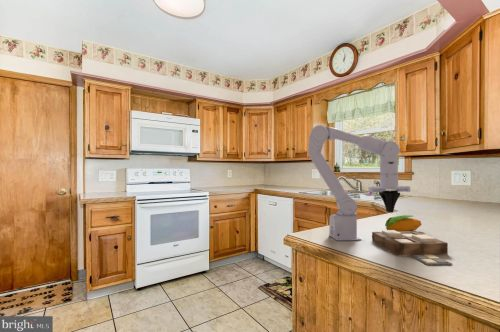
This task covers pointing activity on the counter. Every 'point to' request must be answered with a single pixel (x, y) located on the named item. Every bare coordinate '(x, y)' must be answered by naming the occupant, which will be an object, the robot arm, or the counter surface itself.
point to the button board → (410, 245)
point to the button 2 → (403, 240)
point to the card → (430, 260)
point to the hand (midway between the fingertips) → (389, 211)
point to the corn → (402, 223)
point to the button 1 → (391, 233)
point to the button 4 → (423, 238)
